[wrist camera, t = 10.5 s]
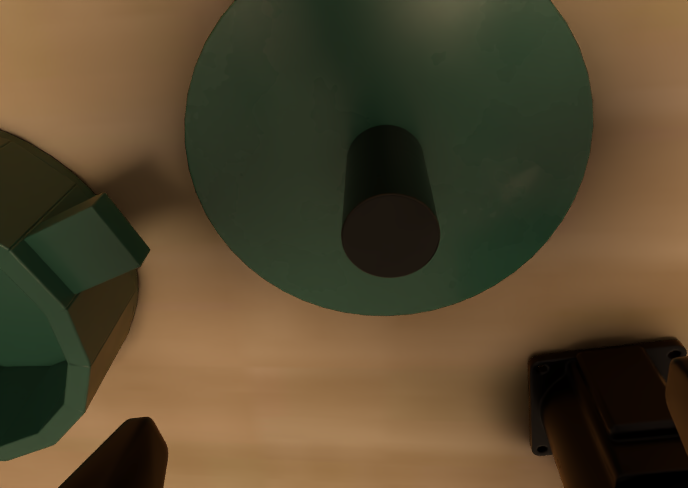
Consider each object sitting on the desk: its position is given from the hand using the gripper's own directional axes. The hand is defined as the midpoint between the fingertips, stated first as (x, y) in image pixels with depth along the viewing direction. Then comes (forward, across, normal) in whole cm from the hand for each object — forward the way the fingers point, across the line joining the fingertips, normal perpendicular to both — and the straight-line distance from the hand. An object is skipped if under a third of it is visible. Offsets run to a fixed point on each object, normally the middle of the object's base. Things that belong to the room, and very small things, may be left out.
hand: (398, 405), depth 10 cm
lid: (+11, 0, 0) cm, 11 cm away
